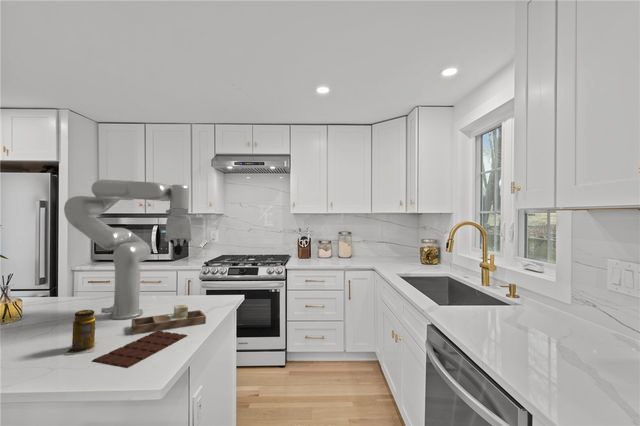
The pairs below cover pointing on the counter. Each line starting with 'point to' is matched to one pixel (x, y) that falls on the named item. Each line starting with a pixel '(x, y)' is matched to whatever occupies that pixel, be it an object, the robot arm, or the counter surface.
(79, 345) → the condiment
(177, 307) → the block
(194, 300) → the counter surface
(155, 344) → the chocolate bar
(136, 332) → the box
